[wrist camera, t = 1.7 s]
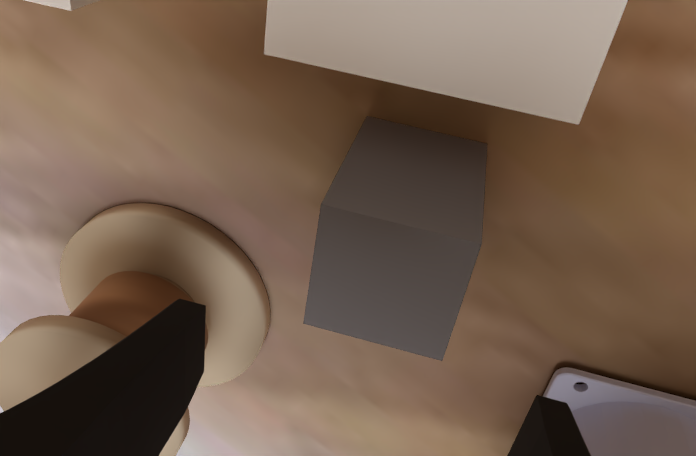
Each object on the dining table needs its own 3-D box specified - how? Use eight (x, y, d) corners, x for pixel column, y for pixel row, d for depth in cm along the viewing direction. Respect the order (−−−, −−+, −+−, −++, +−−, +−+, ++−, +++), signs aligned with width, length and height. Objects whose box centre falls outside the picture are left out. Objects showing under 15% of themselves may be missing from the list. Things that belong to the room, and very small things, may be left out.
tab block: (487, 143, 19) (481, 244, 14) (456, 243, 22) (442, 360, 17) (367, 115, 20) (321, 204, 15) (348, 217, 22) (303, 323, 17)
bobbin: (279, 234, 23) (210, 351, 18) (262, 392, 28) (205, 521, 23) (62, 179, 24) (-66, 274, 18) (83, 342, 29) (-13, 454, 23)
